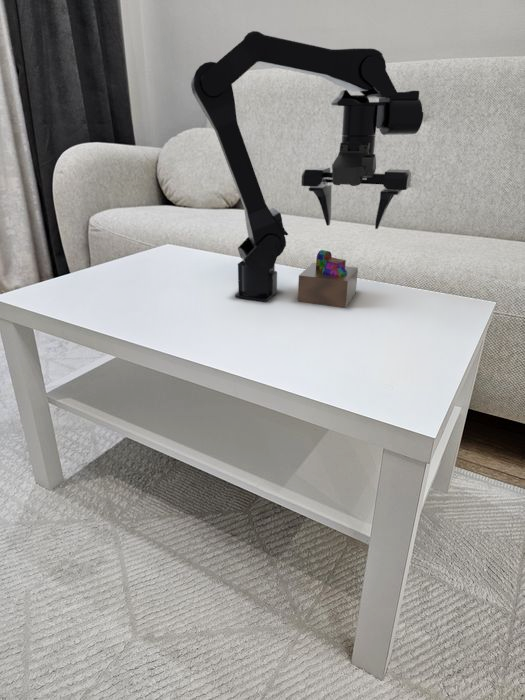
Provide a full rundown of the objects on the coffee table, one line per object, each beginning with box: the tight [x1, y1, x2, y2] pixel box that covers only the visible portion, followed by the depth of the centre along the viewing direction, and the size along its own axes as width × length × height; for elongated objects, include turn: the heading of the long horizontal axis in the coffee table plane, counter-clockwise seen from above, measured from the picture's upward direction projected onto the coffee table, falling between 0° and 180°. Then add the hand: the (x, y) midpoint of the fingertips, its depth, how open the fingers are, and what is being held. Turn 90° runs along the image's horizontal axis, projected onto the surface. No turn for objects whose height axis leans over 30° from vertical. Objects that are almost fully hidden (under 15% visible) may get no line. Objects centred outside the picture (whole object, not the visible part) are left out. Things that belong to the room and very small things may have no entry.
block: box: [315, 249, 347, 277], centre depth 87 cm, size 6×4×3 cm
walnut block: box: [297, 262, 359, 309], centre depth 89 cm, size 9×9×5 cm
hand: (352, 226), depth 89 cm, fingers open, 9 cm apart
